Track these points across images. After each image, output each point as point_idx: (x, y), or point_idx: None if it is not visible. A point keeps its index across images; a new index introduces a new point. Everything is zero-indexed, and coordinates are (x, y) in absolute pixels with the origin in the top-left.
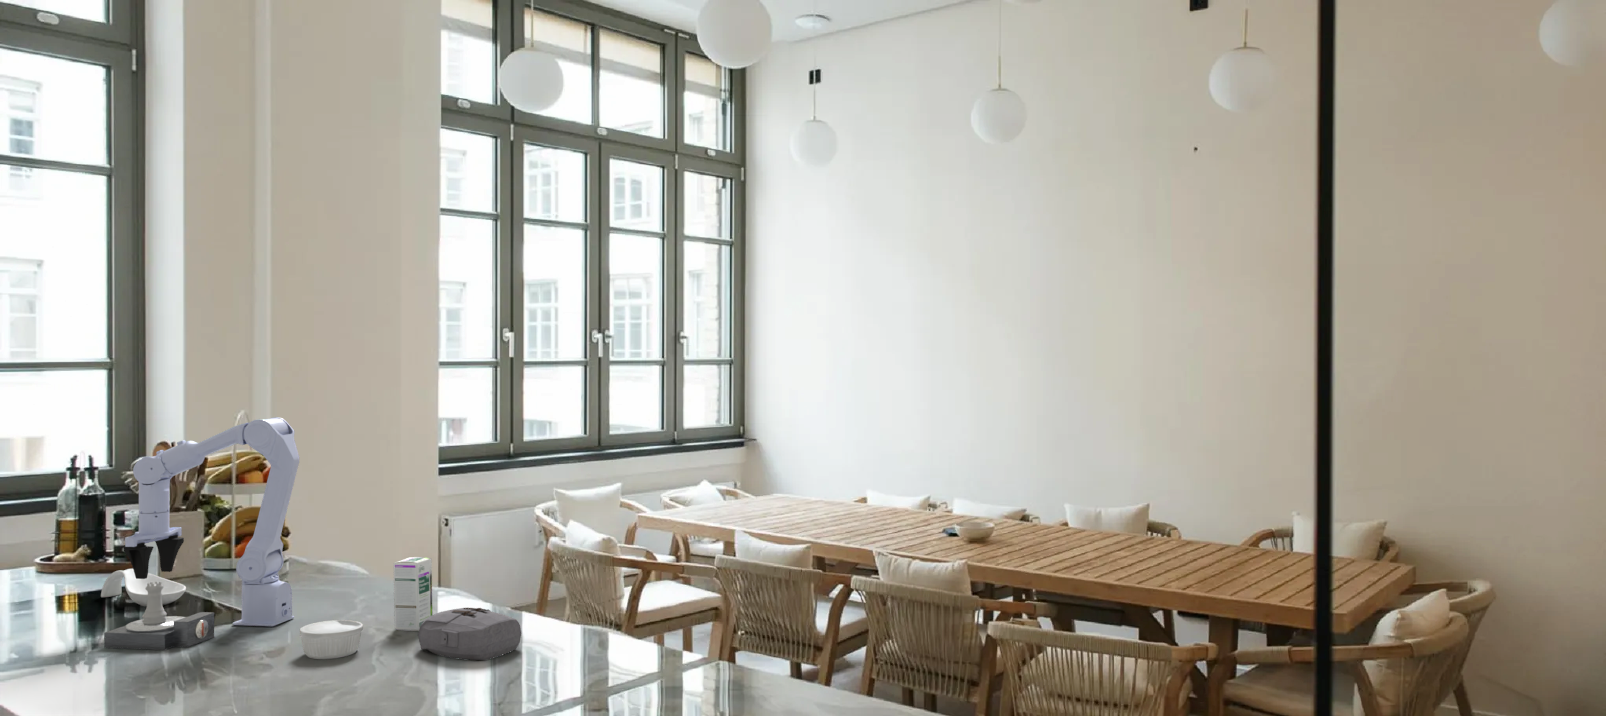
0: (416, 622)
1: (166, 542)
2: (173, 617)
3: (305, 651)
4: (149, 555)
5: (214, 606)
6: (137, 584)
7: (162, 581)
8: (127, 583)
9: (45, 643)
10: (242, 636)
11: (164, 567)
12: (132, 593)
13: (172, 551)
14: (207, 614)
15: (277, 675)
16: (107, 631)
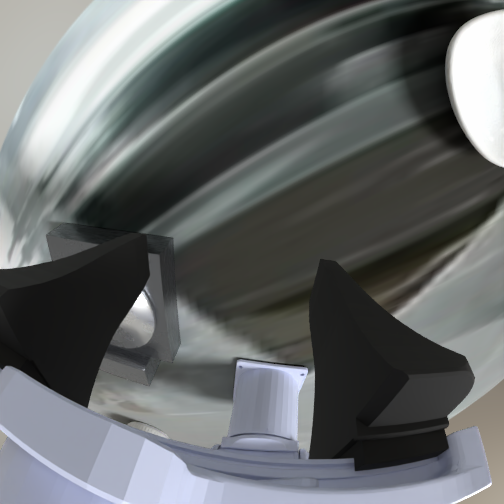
0: None
1: (336, 429)
2: (142, 318)
3: (127, 424)
4: (91, 369)
5: (435, 252)
6: None
7: None
8: (497, 17)
9: (68, 82)
10: (177, 381)
11: (319, 287)
12: (452, 40)
13: (316, 396)
14: (135, 380)
15: (88, 405)
16: (51, 235)
